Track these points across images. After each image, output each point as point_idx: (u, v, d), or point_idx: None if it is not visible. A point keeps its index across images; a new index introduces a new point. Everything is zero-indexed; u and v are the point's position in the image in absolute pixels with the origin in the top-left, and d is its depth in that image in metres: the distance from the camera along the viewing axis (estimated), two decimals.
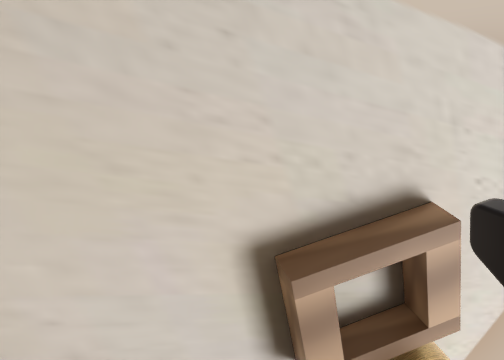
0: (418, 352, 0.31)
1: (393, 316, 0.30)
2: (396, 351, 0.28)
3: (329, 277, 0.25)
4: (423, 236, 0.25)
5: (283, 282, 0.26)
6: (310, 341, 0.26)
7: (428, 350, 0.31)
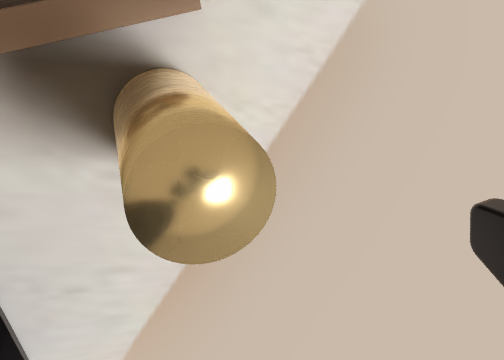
0: (150, 77, 0.17)
1: None
2: (60, 26, 0.15)
3: None
4: None
5: None
6: None
7: (168, 74, 0.17)
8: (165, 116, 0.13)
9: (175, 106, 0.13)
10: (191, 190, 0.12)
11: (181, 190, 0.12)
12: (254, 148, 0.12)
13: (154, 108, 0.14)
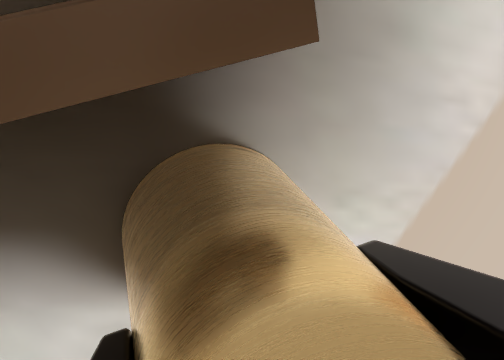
0: (196, 172, 0.09)
1: (62, 3, 0.07)
2: None
3: None
4: None
5: None
6: None
7: (232, 166, 0.09)
8: None
9: (316, 348, 0.04)
10: None
11: None
12: None
13: (244, 336, 0.05)
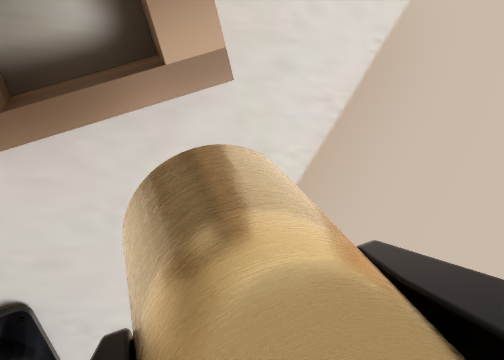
0: (197, 174, 0.09)
1: (127, 66, 0.18)
2: (109, 106, 0.16)
3: None
4: None
5: None
6: None
7: (233, 166, 0.09)
8: None
9: (318, 350, 0.04)
10: None
11: None
12: None
13: (246, 337, 0.05)
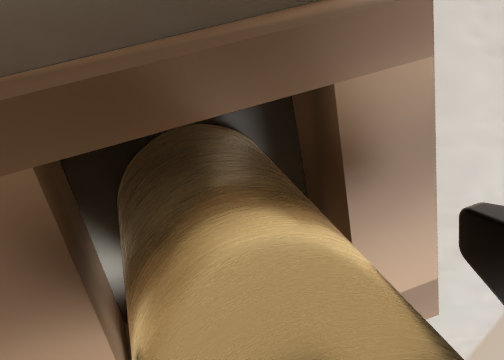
0: (181, 146, 0.10)
1: None
2: None
3: (7, 135, 0.08)
4: (320, 30, 0.09)
5: None
6: (0, 340, 0.09)
7: (213, 141, 0.10)
8: (247, 306, 0.05)
9: (261, 264, 0.06)
10: None
11: None
12: None
13: (209, 258, 0.06)
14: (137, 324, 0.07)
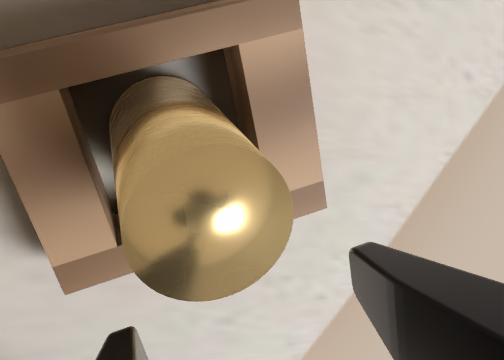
0: (148, 86, 0.16)
1: None
2: None
3: (44, 69, 0.14)
4: (227, 11, 0.14)
5: None
6: (36, 199, 0.15)
7: (168, 83, 0.16)
8: (167, 135, 0.11)
9: (178, 123, 0.12)
10: (198, 220, 0.11)
11: (186, 220, 0.11)
12: (269, 171, 0.11)
13: (154, 125, 0.12)
14: (118, 164, 0.12)
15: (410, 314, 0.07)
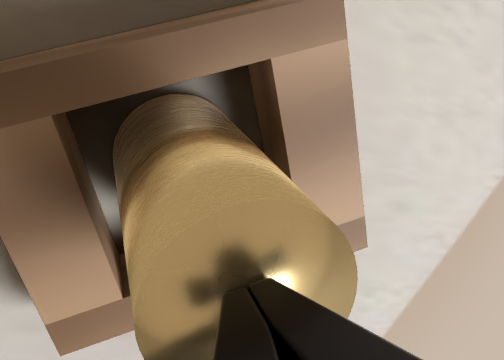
0: (160, 108, 0.13)
1: None
2: None
3: (34, 92, 0.11)
4: (258, 18, 0.12)
5: None
6: (25, 247, 0.12)
7: (184, 103, 0.13)
8: (192, 182, 0.08)
9: (205, 163, 0.09)
10: None
11: (220, 300, 0.08)
12: (330, 231, 0.08)
13: (172, 165, 0.09)
14: (126, 213, 0.10)
15: None
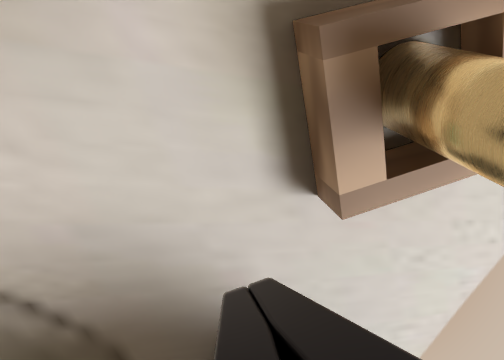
0: (418, 47, 0.19)
1: None
2: (454, 173, 0.21)
3: (372, 29, 0.17)
4: None
5: (305, 54, 0.19)
6: (342, 136, 0.18)
7: (433, 44, 0.20)
8: None
9: None
10: None
11: None
12: None
13: (487, 67, 0.16)
14: (450, 99, 0.16)
15: None
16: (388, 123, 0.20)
